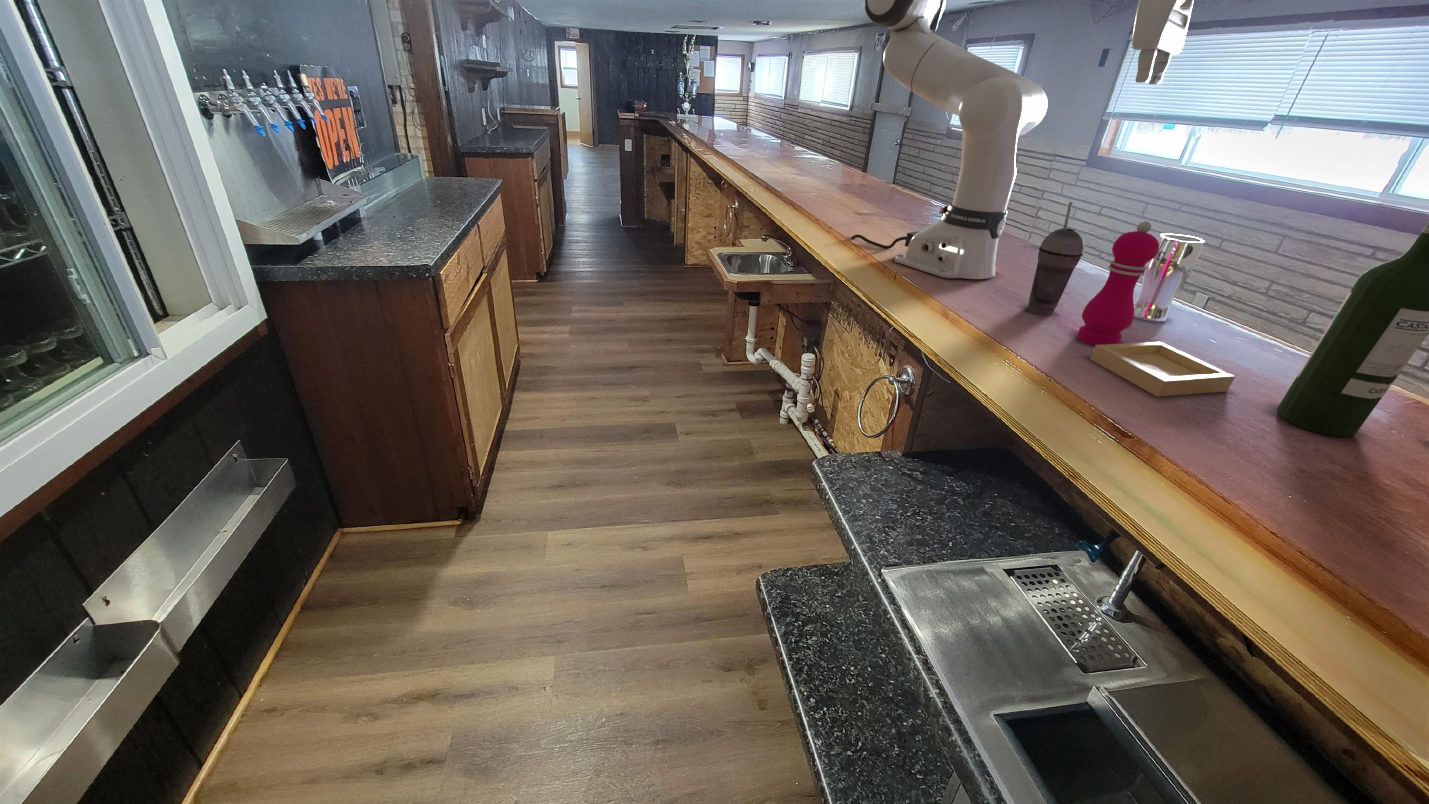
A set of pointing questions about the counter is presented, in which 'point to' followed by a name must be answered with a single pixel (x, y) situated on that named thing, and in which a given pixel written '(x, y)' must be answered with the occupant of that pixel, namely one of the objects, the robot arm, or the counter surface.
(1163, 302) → the beer glass
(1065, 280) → the beverage cup
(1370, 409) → the wine bottle
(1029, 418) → the counter surface
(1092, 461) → the counter surface
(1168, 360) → the tray
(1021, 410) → the counter surface
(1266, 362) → the counter surface
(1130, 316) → the pepper mill
